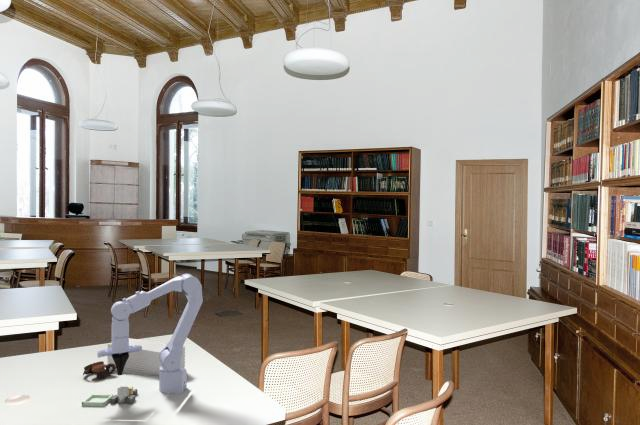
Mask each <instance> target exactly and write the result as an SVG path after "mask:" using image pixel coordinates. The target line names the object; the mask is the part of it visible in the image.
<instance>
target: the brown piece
mask: <svg viewBox="0 0 640 425" xmlns="http://www.w3.org/2000/svg"><path fill="white" fill-rule="evenodd" d="M110 367H112V369H110ZM83 369H84V371H83V373H82V376H84V375H95V377H93V378H91V381H92V382H94V381H100V380H105V379H107V378H108V377H111V376H112V375H113V374H115V372H116V371H117V370H116V367H115V364H113V363H110V364H105V362H104V361H97V362H93V363H90V364H88V365H85V366H84V367H83Z"/></svg>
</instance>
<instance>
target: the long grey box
mask: <svg viewBox="0 0 640 425" xmlns="http://www.w3.org/2000/svg"><path fill="white" fill-rule="evenodd" d="M135 345H141V346H142V352H139V351H138V352H131V353H129V358H128V360H127V362H126V364H125V366H124V370H123V373H128V374H134V375H139V376H140V375H141V376H159V373H160V366H161V364H162V363H161V362H160V360H159V354H160V352H161V351H162V350H163V349H164V348H165V347H166V345H167V343H163V342H157V341H151V340H144V339H136V338H130V337H129V346H135ZM109 348H111V342H109V343H107V349H109ZM106 363H107V364H110V363H113V364H115V362H114V360H113V358H112V356H111V355H110V356H107V362H106ZM107 364H106V365H107ZM115 367H116V365H115ZM180 368H182V369H186V346H185V345H183V353H182V356H181V364H180ZM109 370H112V367H110V369H109ZM115 371H117V368H116V370H115Z"/></svg>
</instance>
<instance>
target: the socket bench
mask: <svg viewBox="0 0 640 425" xmlns="http://www.w3.org/2000/svg"><path fill="white" fill-rule="evenodd" d="M137 395H138V389H137V388H134V389H133V394H132V395H129V398H128V399H127V403H126V405H132V404H133V403H135V401H136V396H137ZM116 403H117V394H113V397H112V398H111V399H110V402H109V404H110V405H111V404H112V405H115V404H116Z"/></svg>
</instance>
